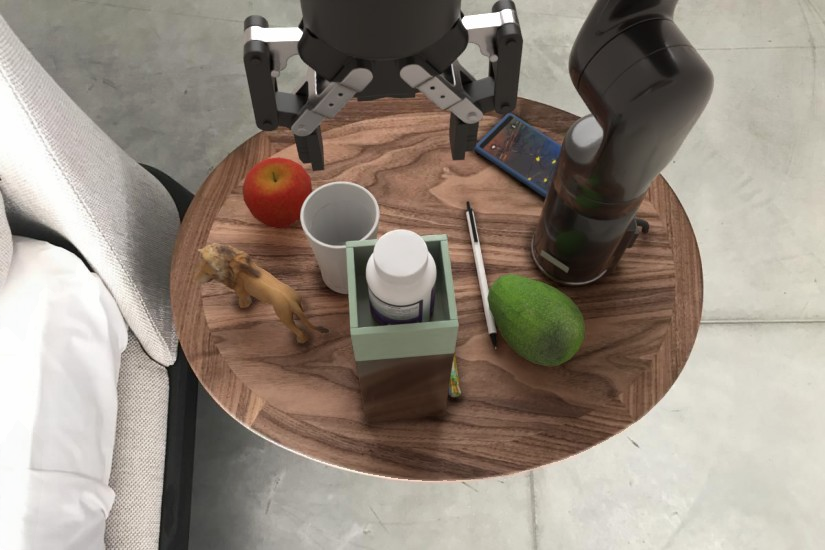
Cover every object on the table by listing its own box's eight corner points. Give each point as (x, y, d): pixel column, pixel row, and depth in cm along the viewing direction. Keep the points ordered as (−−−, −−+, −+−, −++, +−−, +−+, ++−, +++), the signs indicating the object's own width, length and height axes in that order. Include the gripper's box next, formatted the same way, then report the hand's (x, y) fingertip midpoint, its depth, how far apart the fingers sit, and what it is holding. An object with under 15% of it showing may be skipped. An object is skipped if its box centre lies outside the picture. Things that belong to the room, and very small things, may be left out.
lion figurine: (203, 303, 81) (181, 265, 73) (227, 265, 83) (208, 225, 75) (319, 353, 79) (309, 319, 71) (341, 312, 81) (333, 275, 73)
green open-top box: (436, 342, 79) (446, 233, 58) (444, 415, 75) (459, 326, 54) (362, 349, 79) (345, 241, 58) (366, 422, 75) (350, 335, 54)
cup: (374, 306, 81) (369, 254, 70) (306, 293, 82) (290, 240, 71) (389, 246, 85) (387, 188, 74) (323, 234, 85) (312, 175, 75)
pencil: (429, 250, 84) (449, 398, 76) (429, 245, 83) (449, 394, 75) (440, 249, 84) (461, 397, 76) (440, 244, 83) (461, 393, 75)
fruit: (570, 385, 77) (492, 324, 84) (612, 323, 76) (529, 267, 83) (538, 377, 70) (456, 312, 77) (583, 310, 69) (495, 250, 76)
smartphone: (509, 110, 93) (606, 172, 89) (508, 114, 94) (604, 176, 89) (472, 147, 90) (570, 212, 86) (472, 150, 91) (569, 216, 87)
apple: (239, 203, 87) (225, 165, 80) (296, 174, 89) (287, 134, 82) (270, 250, 84) (257, 214, 77) (328, 218, 86) (321, 181, 79)
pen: (471, 203, 87) (471, 198, 86) (499, 349, 79) (500, 346, 78) (463, 204, 87) (464, 199, 86) (491, 350, 79) (492, 347, 78)
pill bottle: (397, 268, 62) (396, 207, 54) (446, 304, 61) (453, 247, 52) (356, 312, 60) (348, 256, 52) (405, 350, 59) (405, 300, 50)
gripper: (201, -8, 28) (272, 215, 42) (563, -32, 29) (512, 195, 43) (207, -130, 31) (271, 115, 46) (531, -148, 32) (493, 98, 46)
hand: (388, 154), depth 44 cm, fingers open, 8 cm apart
